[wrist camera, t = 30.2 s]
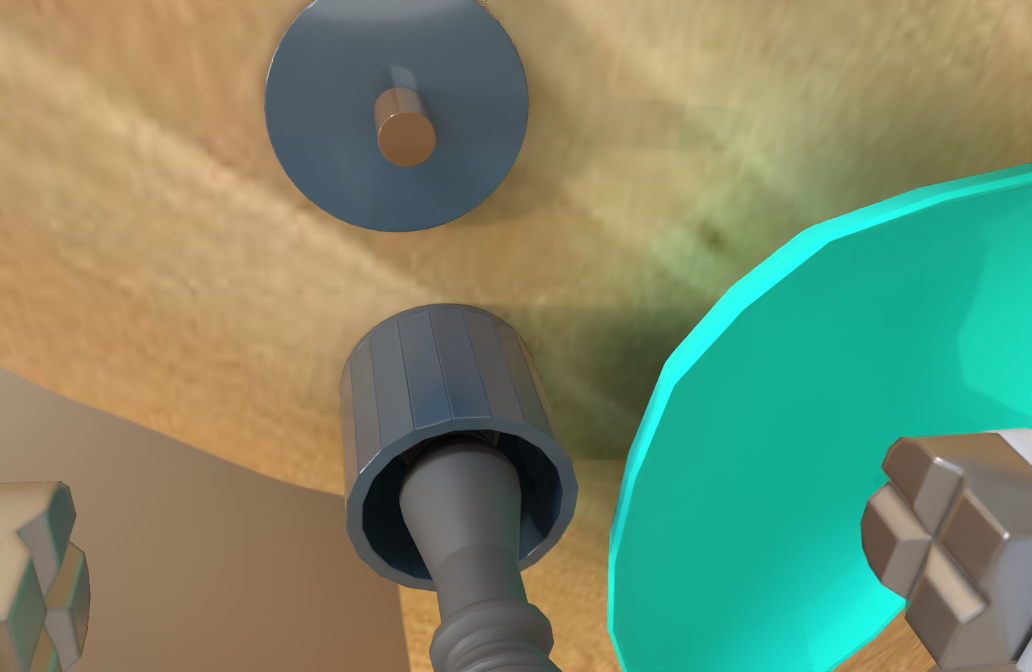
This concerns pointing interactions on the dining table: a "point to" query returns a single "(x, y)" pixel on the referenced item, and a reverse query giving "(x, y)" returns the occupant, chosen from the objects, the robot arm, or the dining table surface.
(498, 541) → the candle holder
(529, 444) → the crock
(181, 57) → the dining table surface
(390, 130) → the lid
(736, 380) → the table top decor
